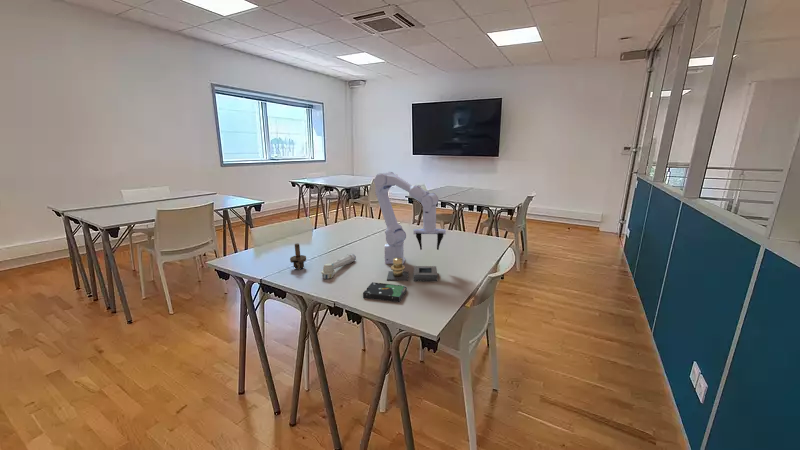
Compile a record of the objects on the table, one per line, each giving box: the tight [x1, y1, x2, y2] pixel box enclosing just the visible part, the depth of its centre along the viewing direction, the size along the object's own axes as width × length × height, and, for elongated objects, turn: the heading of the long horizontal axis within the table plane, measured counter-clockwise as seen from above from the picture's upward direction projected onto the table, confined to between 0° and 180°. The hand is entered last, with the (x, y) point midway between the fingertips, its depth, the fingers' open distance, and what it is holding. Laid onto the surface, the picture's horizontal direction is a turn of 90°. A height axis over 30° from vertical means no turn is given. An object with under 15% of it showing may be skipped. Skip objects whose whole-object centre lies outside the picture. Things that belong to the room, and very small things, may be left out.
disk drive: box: [362, 282, 408, 303], centre depth 126 cm, size 10×3×15 cm
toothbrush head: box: [320, 253, 357, 279], centre depth 151 cm, size 5×7×25 cm
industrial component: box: [289, 243, 307, 270], centre depth 154 cm, size 9×7×12 cm
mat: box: [386, 270, 409, 282], centre depth 143 cm, size 9×9×1 cm
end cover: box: [390, 258, 405, 277], centre depth 142 cm, size 6×6×8 cm
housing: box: [413, 265, 438, 283], centre depth 142 cm, size 10×10×3 cm
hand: (429, 249), depth 149 cm, fingers open, 7 cm apart
